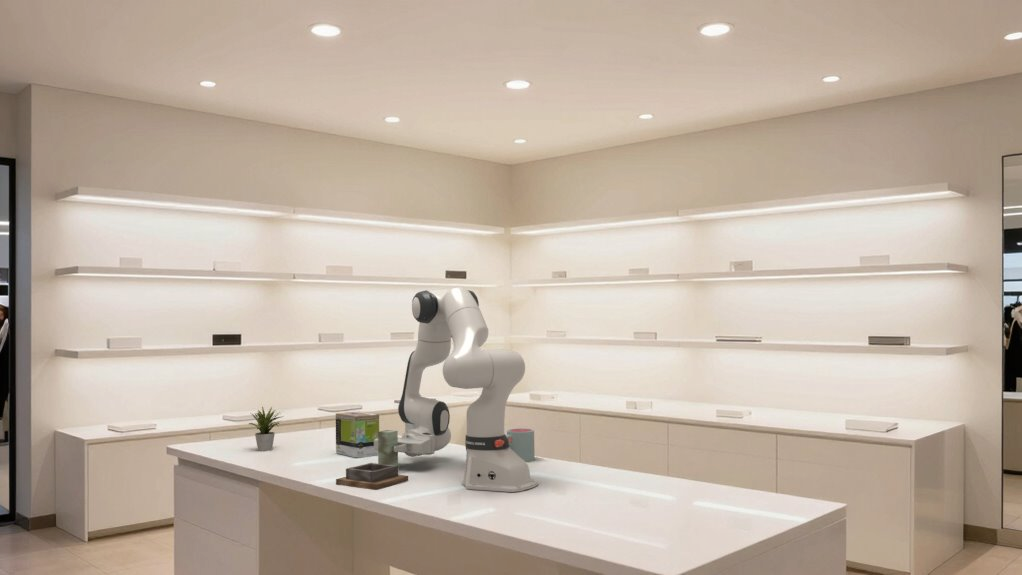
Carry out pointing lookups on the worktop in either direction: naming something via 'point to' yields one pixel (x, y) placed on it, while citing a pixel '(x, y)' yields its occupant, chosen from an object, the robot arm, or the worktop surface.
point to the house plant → (265, 430)
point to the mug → (522, 443)
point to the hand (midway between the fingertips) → (386, 448)
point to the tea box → (356, 433)
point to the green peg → (387, 447)
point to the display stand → (372, 476)
